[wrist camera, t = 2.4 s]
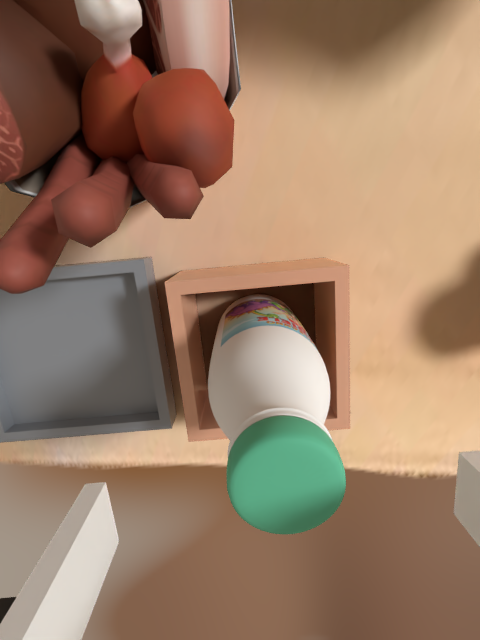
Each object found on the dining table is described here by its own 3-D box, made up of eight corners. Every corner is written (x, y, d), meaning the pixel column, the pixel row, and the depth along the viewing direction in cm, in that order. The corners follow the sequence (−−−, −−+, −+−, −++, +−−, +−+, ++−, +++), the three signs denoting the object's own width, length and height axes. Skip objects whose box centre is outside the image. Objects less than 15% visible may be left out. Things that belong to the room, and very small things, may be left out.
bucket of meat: (-7, 21, 25) (-812, -664, 6) (197, -60, 24) (25, -1267, 5) (99, 273, 30) (-148, 346, 11) (273, 216, 29) (341, 186, 10)
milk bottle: (278, 380, 33) (333, 592, 14) (205, 353, 32) (156, 536, 13) (311, 310, 31) (431, 442, 12) (235, 279, 30) (230, 365, 11)
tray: (-34, 274, 30) (-57, 277, 28) (151, 256, 30) (143, 258, 27) (14, 427, 34) (-4, 442, 32) (176, 414, 34) (171, 428, 31)
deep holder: (181, 270, 30) (164, 282, 23) (324, 257, 30) (349, 265, 23) (198, 399, 33) (188, 441, 27) (327, 388, 33) (349, 428, 26)
